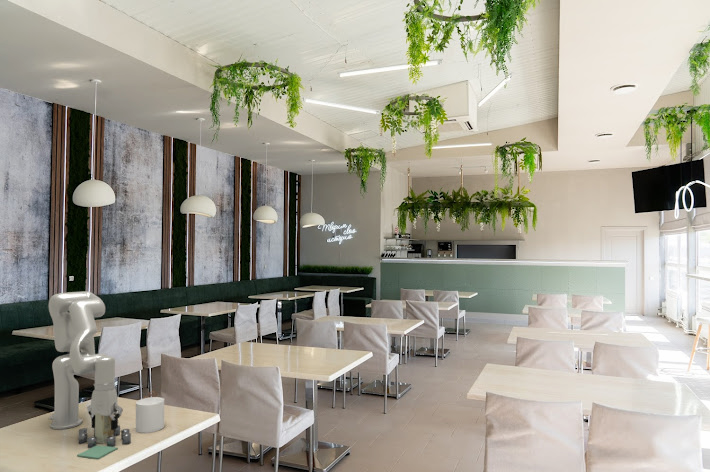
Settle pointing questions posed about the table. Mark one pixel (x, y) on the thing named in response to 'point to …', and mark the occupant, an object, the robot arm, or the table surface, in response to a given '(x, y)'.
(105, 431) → the skincare box
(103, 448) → the coaster
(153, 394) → the brown wooden carved piece
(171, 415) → the table surface
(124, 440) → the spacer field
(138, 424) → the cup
